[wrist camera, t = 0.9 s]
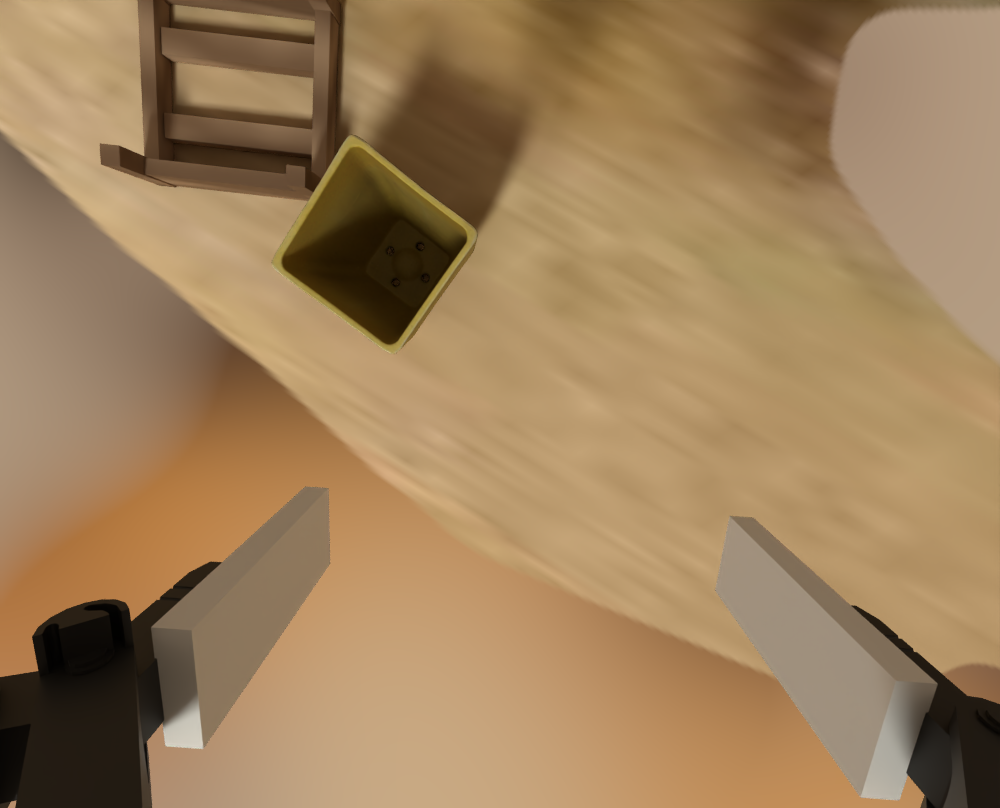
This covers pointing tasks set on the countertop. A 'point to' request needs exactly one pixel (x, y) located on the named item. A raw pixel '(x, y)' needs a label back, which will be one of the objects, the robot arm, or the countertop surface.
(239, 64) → the rack
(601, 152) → the countertop surface
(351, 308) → the flower pot
